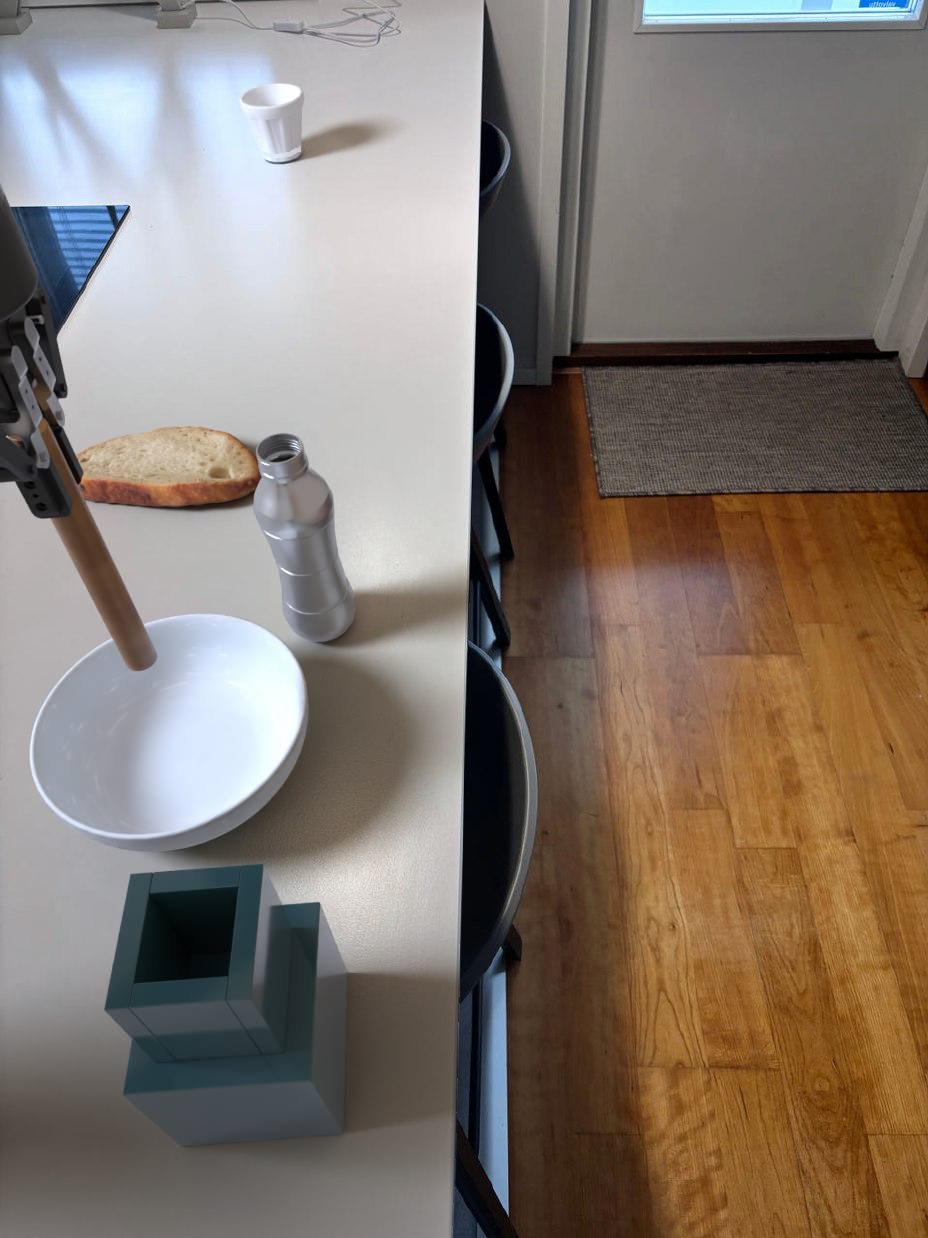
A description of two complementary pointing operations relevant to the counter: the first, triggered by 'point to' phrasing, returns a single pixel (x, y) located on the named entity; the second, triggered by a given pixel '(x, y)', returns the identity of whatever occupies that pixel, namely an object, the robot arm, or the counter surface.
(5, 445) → the robot arm
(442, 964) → the counter surface
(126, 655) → the stick
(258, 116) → the cup
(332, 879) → the counter surface
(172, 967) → the utensil holder
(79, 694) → the serving bowl
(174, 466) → the bread slice
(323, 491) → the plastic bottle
